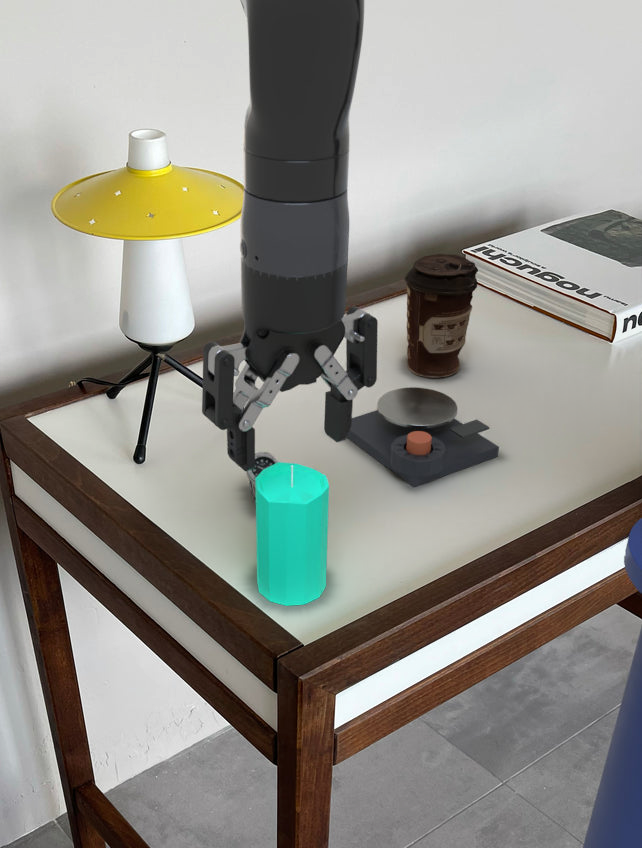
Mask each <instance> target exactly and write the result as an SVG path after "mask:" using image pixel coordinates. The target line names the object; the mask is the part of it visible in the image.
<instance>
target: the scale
mask: <svg viewBox="0 0 642 848" xmlns="http://www.w3.org/2000/svg"><path fill="white" fill-rule="evenodd" d="M351 420H352V423H351V428H350V431H349V432H347V438H346V439H348V440H349V441H351V442H352V443H354V444H355V445H356V446H358V448H360V449H361V450H363V451H365V452H366V453H367V454H368V455H370V456H371V457H372V458H373V459H375V460H376V461H377V462H379V463H380V464H382V465H383V466H385V467H386V468H387V469H389V470H390V471H392V472H393V473H394V474H395V475H397V476H398V477H400V478H401V479H402V480H404V482H406V483H408V484H409V485H410V486H411V487H413V488H415V487H418V486H421V485H423V484H426V483H429V482H431V481H434V480H437V479H441V478H443V477H445V476H448V475H451V474H453V473H456V472H460V471H462V470H464V469H467V468H470V467H473V466H476V465H478V464H481V463H483V462H486V461H489V460H492V459H495V458H497V457H499V449H500V446H499V445H497V444H495V443H494V442H492V441H491V440H489V439H488V438H486V437H484V436H482V435H481V433H477V434H474V435H471V436H468V437H465V438H461V437H459V436H458V435H456V434H455V433H453V432H452V431H450V428H453V427H456V426H459V425H462V424H463V423H462V422H461V421H459V420H458V419H456V418H454V419H453V420H452V421H451V422H449V423H447V424H445V425H442V426H439V427H434V428H424V429H419V428H408V427H403V426H399V425H396V424H393V423H391V422H389V421H387V420H386V419H384V418H383V417H382V416H381V415H380V414H379V412H378V410H377V409H376V410H373V411H370V412H366V413H363V414H360V415H357V416H354V417H352V419H351ZM414 431H423V432H426V433H428V434H430V435H431V437H432V440H431V451H430V453H429V454H426V455H414V454H410V453H408V452H407V450H406V445H407V436H408V434H409V433H411V432H414Z"/></svg>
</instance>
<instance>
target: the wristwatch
mask: <svg viewBox="0 0 642 848" xmlns="http://www.w3.org/2000/svg"><path fill="white" fill-rule="evenodd" d="M277 462H279V461H278V460H277V458H276V457H275V456H274V455H273V454H272V453H270V452H265V451H258V452H255V468H254V469H252V470H248V471H245V473H246V477H247V479H248V482H249V483H248V486H249V489H250V490H249V492H250V494H251V495H250V496H251V499H252V500H253V503H254V504H255V505H256V489H255V478H256V477H257V476H258V475H259V474H260V473H261V472H262V470H264V469H266V468H268V467H270V466H272V465H274V464H276V463H277Z"/></svg>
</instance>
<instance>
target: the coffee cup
mask: <svg viewBox="0 0 642 848" xmlns="http://www.w3.org/2000/svg"><path fill="white" fill-rule="evenodd" d="M478 272H479V269H478V267H477V266H476V263H475V262H473V261H471V260H469V259H468V258H466V257H465V256H461V255H459V254H451V253H450V254H449V253H437V254H436V253H435V254H428V255H424V256H421V257H420V258H418V259H416V260H415V261H414V263H413V265H412V268H411V269H409V270H408V272H407V273H406V274H405V277H404V282H405V283H406V297H407V298H406V341H407V346H406V356H407V359H406V364H407V367H408V370H409V372H411V373H413V374H415V375H417V376H421V377H425V378H443V377H449V376H452V375H454V374H456V373H457V372H458V371H459V370H460V368H461V362H460V358H459V355H460V352H461V350H462V349H463V347H464V346H465V344H466V341H467V339H466V338H467V337H466V336H467V331H468V327H469V322H470V317H471V313H472V310H473V305H472V304H471V302H472V300H473V298H474V295H473V293H474V291H476V289H477V288H478V284H479V283H478V279H477V276H476V275H477V273H478Z"/></svg>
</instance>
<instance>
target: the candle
mask: <svg viewBox="0 0 642 848" xmlns="http://www.w3.org/2000/svg"><path fill="white" fill-rule="evenodd" d="M255 489H256V504H255V533H256V534H255V537H256V539H255V540H256V542H255V543H256V544H255V545H256V546H255V548H256V584H257V589H258V593H259V594H261V595H262V596H263V597H264V598H265V599H266V600H267V601H269V602H271V603H274V604H277V605H278V604H279V605H282V606H287V607H289V606H290V607H291V606H302V605H303V606H304V605H307V604H309V603H311V602H313V601H316V600H317V599H319V598H320V597H321V596H322V594H323V592H324V591H325V590H326V588H327V567H328V566H327V562H328V534H329V533H328V531H329V530H328V529H329V503H330V501H329V499H330V484H329V480H328V478H327V475H325V474H324V473H323V472H320V471H318V470H317V469H316V468H312V467H309V466H306V465H303V464H299V463H296V462H295V463H293V462H281V461H278V462H277V463H276V464H274V465H272V466H270V467H268V468H266V469H264V470H262V472H261V473H260V474H259V475H258V476H257V477H256V478H255Z"/></svg>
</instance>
